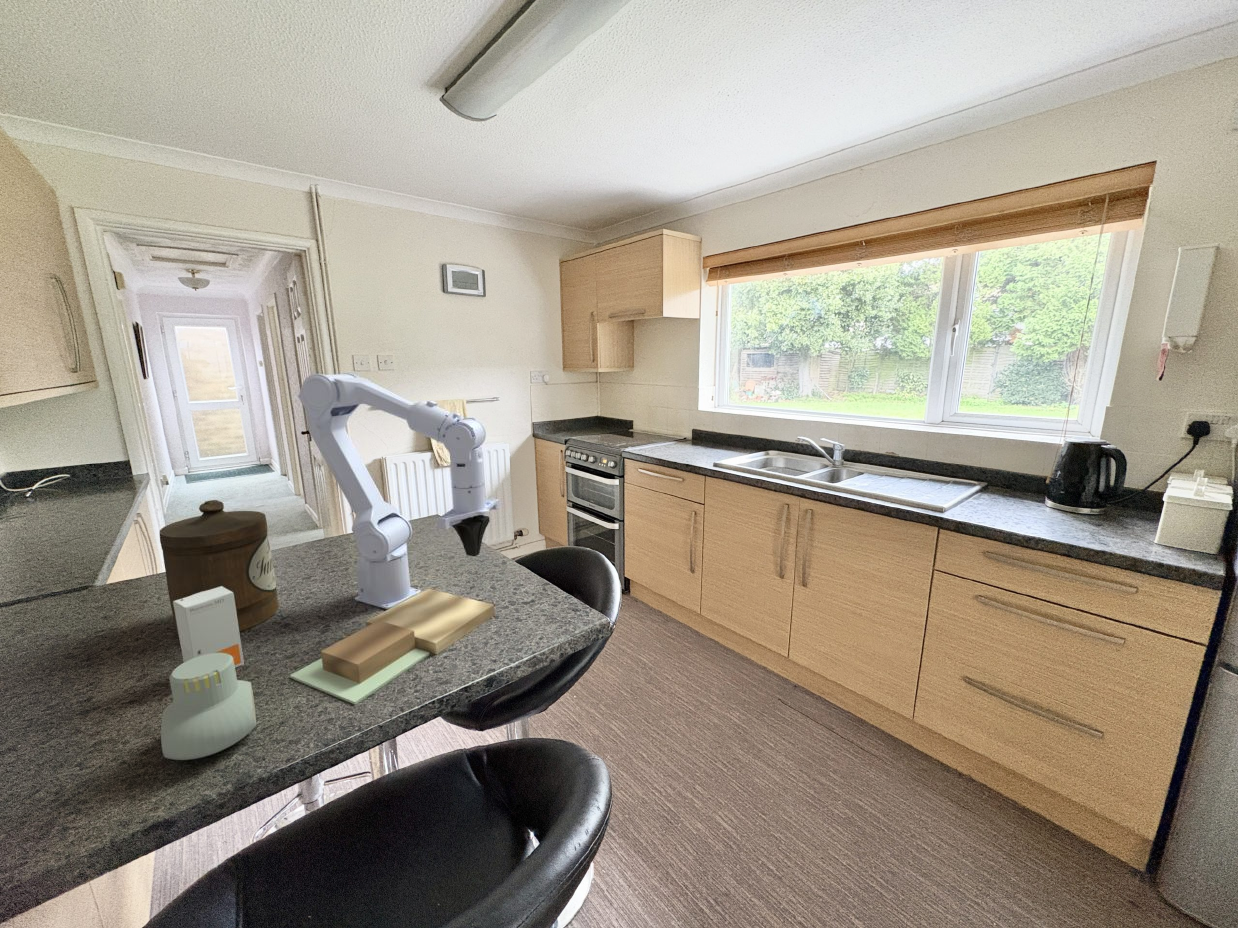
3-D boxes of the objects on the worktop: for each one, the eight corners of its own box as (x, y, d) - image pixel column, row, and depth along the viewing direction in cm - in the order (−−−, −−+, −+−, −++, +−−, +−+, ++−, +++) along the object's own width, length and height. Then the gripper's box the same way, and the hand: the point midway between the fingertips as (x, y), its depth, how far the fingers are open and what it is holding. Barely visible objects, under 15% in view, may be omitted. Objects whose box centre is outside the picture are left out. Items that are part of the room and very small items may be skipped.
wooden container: (289, 616, 91) (272, 500, 86) (182, 650, 80) (157, 519, 76) (268, 592, 101) (251, 486, 96) (170, 619, 90) (147, 501, 86)
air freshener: (174, 728, 63) (159, 656, 61) (254, 701, 68) (244, 634, 66) (165, 785, 54) (148, 703, 52) (258, 750, 59) (246, 674, 57)
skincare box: (197, 685, 71) (182, 608, 69) (185, 676, 73) (170, 600, 71) (246, 664, 76) (234, 591, 74) (234, 655, 78) (221, 584, 76)
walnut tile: (323, 669, 74) (320, 651, 73) (380, 636, 83) (378, 620, 82) (360, 683, 71) (357, 664, 70) (415, 647, 80) (414, 630, 79)
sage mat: (290, 677, 73) (289, 675, 73) (368, 634, 84) (367, 632, 84) (355, 704, 67) (355, 702, 67) (429, 654, 78) (429, 652, 78)
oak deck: (366, 632, 85) (365, 621, 85) (429, 598, 98) (428, 588, 97) (436, 654, 78) (435, 642, 78) (494, 614, 91) (494, 604, 90)
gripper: (456, 496, 84) (461, 572, 86) (510, 478, 97) (513, 545, 99) (425, 492, 87) (431, 565, 89) (481, 475, 100) (485, 540, 102)
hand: (472, 554), depth 95 cm, fingers closed
